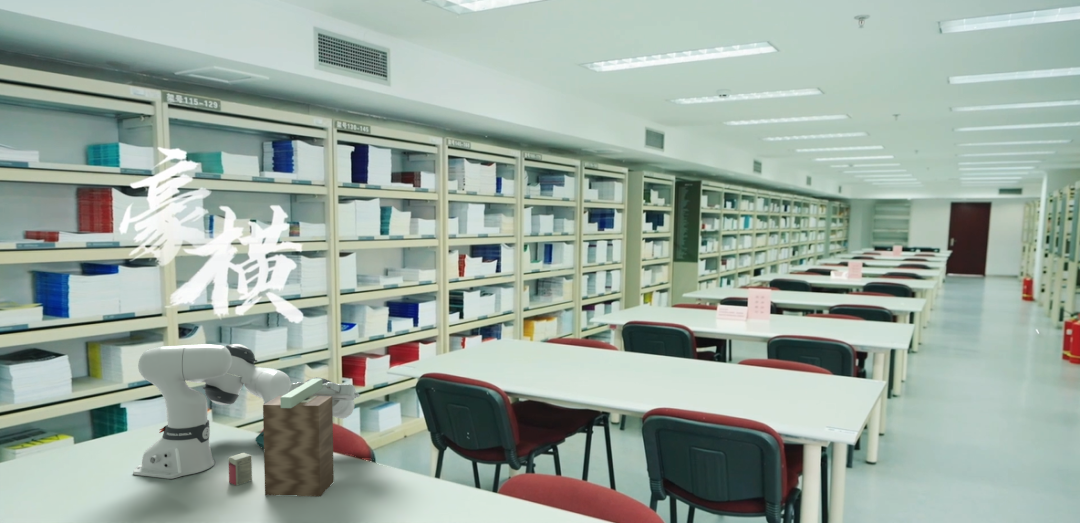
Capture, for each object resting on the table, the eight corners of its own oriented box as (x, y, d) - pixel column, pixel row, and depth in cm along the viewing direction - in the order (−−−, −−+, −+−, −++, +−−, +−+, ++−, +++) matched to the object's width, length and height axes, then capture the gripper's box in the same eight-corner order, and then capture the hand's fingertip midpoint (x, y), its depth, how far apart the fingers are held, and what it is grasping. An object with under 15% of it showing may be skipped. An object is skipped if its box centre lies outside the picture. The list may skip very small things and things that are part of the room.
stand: (265, 495, 179) (263, 404, 178) (281, 481, 189) (279, 395, 188) (320, 496, 179) (318, 405, 177) (333, 482, 188) (332, 396, 187)
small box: (244, 477, 192) (244, 451, 192) (252, 480, 190) (251, 454, 189) (228, 482, 188) (227, 456, 188) (236, 486, 186) (235, 459, 185)
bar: (280, 407, 175) (280, 397, 174) (313, 388, 197) (313, 378, 196) (291, 408, 174) (291, 397, 174) (322, 388, 196) (322, 378, 196)
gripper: (359, 406, 204) (346, 395, 192) (297, 405, 205) (280, 394, 193) (362, 387, 207) (349, 375, 194) (301, 386, 208) (284, 374, 196)
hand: (314, 384), depth 194 cm, fingers open, 8 cm apart
